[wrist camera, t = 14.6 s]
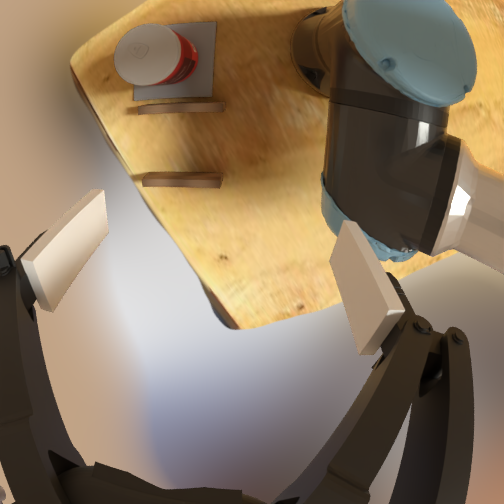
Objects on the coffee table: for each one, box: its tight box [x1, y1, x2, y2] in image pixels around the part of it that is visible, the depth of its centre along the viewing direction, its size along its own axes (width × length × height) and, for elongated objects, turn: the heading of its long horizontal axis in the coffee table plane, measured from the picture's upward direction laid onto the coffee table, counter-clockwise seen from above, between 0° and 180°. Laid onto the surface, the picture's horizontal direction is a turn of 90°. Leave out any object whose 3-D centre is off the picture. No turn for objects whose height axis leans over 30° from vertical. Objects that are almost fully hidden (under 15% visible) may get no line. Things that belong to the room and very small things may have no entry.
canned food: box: [114, 24, 198, 86], centre depth 26 cm, size 8×8×11 cm
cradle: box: [138, 102, 226, 188], centre depth 37 cm, size 12×12×4 cm
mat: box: [134, 22, 217, 101], centre depth 31 cm, size 12×12×1 cm
